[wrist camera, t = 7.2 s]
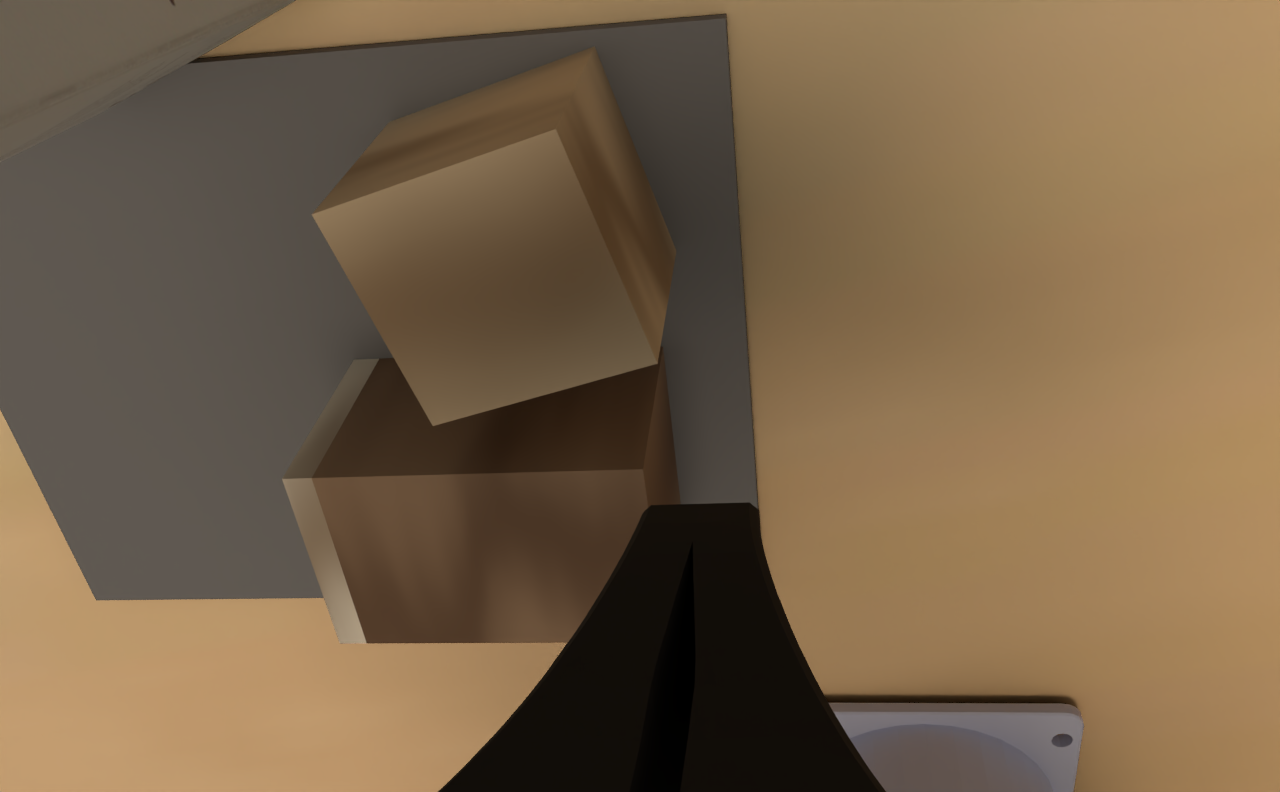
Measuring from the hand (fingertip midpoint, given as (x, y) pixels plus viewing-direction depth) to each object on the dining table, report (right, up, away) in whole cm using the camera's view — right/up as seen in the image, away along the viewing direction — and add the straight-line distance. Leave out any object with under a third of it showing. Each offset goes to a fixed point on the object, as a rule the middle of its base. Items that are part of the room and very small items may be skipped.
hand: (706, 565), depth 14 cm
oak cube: (-3, +6, +8) cm, 11 cm away
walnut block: (-7, 0, +10) cm, 13 cm away
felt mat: (-7, +3, +12) cm, 14 cm away
